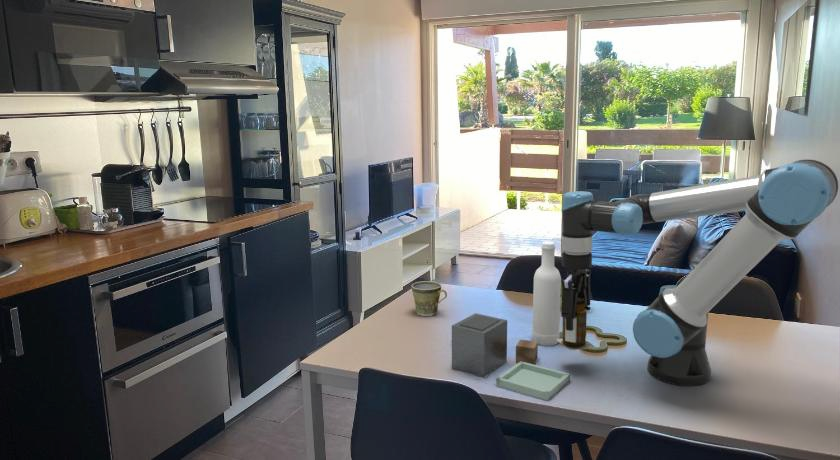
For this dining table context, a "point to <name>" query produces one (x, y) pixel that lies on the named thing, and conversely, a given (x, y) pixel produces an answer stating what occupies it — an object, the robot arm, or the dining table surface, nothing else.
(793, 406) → the dining table surface
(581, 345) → the condiment
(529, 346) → the walnut block
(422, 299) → the ceramic cup
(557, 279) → the bottle
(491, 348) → the unit
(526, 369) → the tray
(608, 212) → the robot arm
